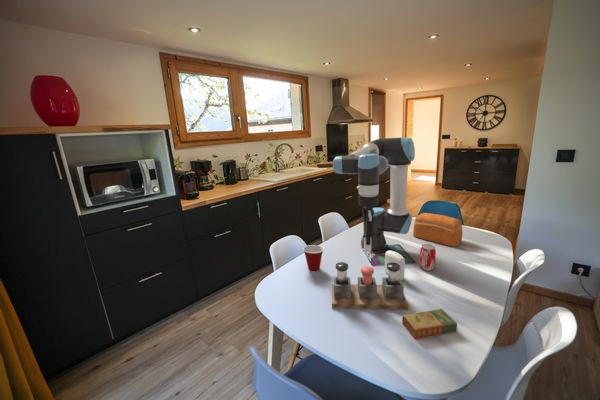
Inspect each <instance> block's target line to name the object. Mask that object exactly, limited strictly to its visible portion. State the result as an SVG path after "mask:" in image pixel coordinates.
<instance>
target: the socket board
mask: <svg viewBox="0 0 600 400" xmlns="http://www.w3.org/2000/svg"><path fill="white" fill-rule="evenodd" d="M404 288H405V287H404V285H403V283H402V280H400V278H399V277H398V285H388V276H383V277H382V281H381V284H377V282H376V278H375V276H372V285H362V276H357V284H351V277H350V276H347V285H346V284H337V276H333V283H331V308H332V309H370V310H372V309H374V310H375V309H376V310H407V311H408V310H409V304H408V302H407V299H406V297H405V294H404Z"/></svg>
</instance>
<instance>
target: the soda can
mask: <svg viewBox="0 0 600 400" xmlns="http://www.w3.org/2000/svg"><path fill="white" fill-rule="evenodd" d="M435 247H436V246H434V245H432V244H429V243H424V244H422V245H421V247H420V250H419V262H418V264H419V265H418V266H419V268H420V269H422V270H423V271H426V272H427V271H428V272H430V271H433V270H434V269H435V265H436V256H437V255H436V254H437V251H436V248H435Z"/></svg>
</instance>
